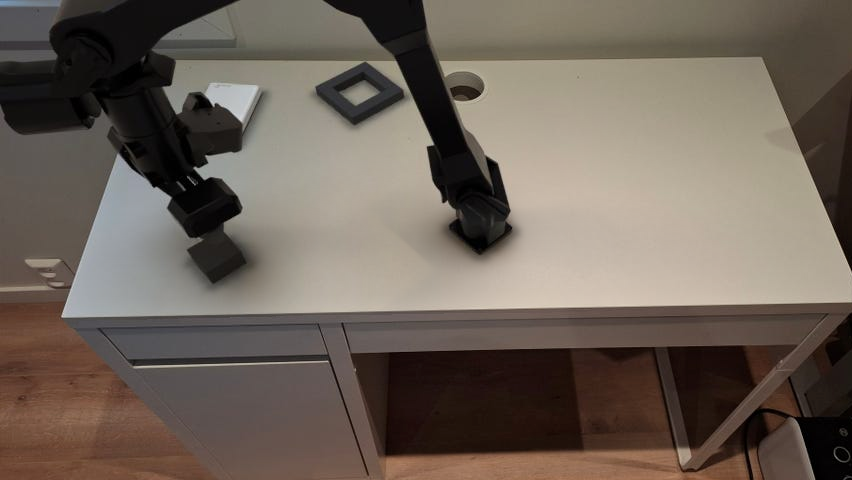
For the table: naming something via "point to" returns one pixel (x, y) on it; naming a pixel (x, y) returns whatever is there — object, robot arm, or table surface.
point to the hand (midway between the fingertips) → (199, 220)
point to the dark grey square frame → (367, 108)
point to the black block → (217, 258)
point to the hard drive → (235, 98)
